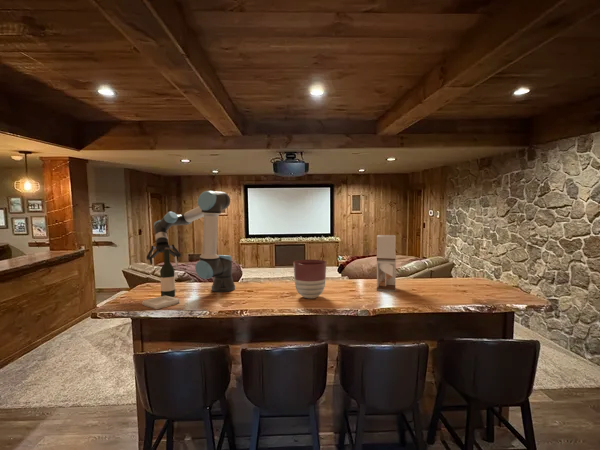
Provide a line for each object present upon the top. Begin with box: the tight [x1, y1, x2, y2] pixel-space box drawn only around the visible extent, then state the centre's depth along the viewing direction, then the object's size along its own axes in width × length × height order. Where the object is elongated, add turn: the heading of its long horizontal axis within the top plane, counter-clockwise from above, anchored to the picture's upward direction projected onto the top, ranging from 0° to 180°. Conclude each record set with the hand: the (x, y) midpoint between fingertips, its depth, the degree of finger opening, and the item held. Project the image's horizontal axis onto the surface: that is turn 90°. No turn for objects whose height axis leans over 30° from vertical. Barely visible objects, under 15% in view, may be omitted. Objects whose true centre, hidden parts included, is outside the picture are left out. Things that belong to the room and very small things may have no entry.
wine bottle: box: [159, 248, 176, 298], centre depth 205 cm, size 8×8×30 cm
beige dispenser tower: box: [376, 234, 397, 293], centre depth 217 cm, size 11×11×35 cm
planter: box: [293, 259, 327, 300], centre depth 199 cm, size 20×20×21 cm
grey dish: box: [141, 295, 180, 310], centre depth 189 cm, size 14×14×2 cm
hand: (165, 266), depth 207 cm, fingers open, 13 cm apart
